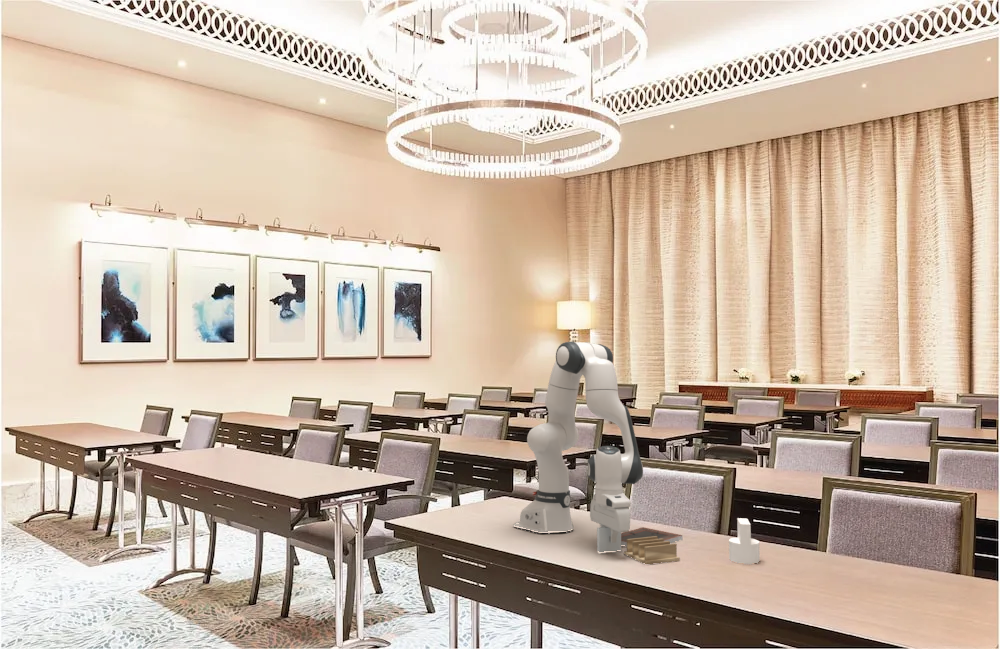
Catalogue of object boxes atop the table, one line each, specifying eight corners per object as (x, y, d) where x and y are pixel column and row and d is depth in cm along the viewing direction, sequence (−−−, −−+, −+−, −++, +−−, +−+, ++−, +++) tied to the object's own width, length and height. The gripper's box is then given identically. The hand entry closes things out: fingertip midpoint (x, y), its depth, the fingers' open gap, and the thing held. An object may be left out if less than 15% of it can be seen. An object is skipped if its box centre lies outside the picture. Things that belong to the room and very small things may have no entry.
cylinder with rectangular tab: (761, 565, 229) (761, 525, 230) (730, 563, 231) (730, 523, 231) (757, 557, 238) (757, 518, 238) (727, 555, 240) (727, 517, 240)
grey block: (597, 552, 244) (597, 527, 244) (618, 550, 247) (618, 525, 247) (599, 553, 243) (599, 528, 243) (621, 551, 246) (621, 526, 246)
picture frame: (645, 553, 246) (682, 541, 261) (645, 545, 246) (682, 534, 261) (605, 544, 258) (643, 533, 273) (605, 536, 258) (643, 526, 273)
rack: (624, 554, 241) (623, 538, 242) (656, 550, 246) (656, 535, 246) (646, 564, 229) (646, 548, 230) (679, 560, 234) (679, 544, 234)
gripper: (585, 492, 254) (585, 534, 253) (616, 503, 235) (616, 548, 234) (601, 491, 256) (602, 532, 256) (633, 502, 237) (634, 546, 237)
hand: (609, 540), depth 245 cm, fingers open, 3 cm apart
